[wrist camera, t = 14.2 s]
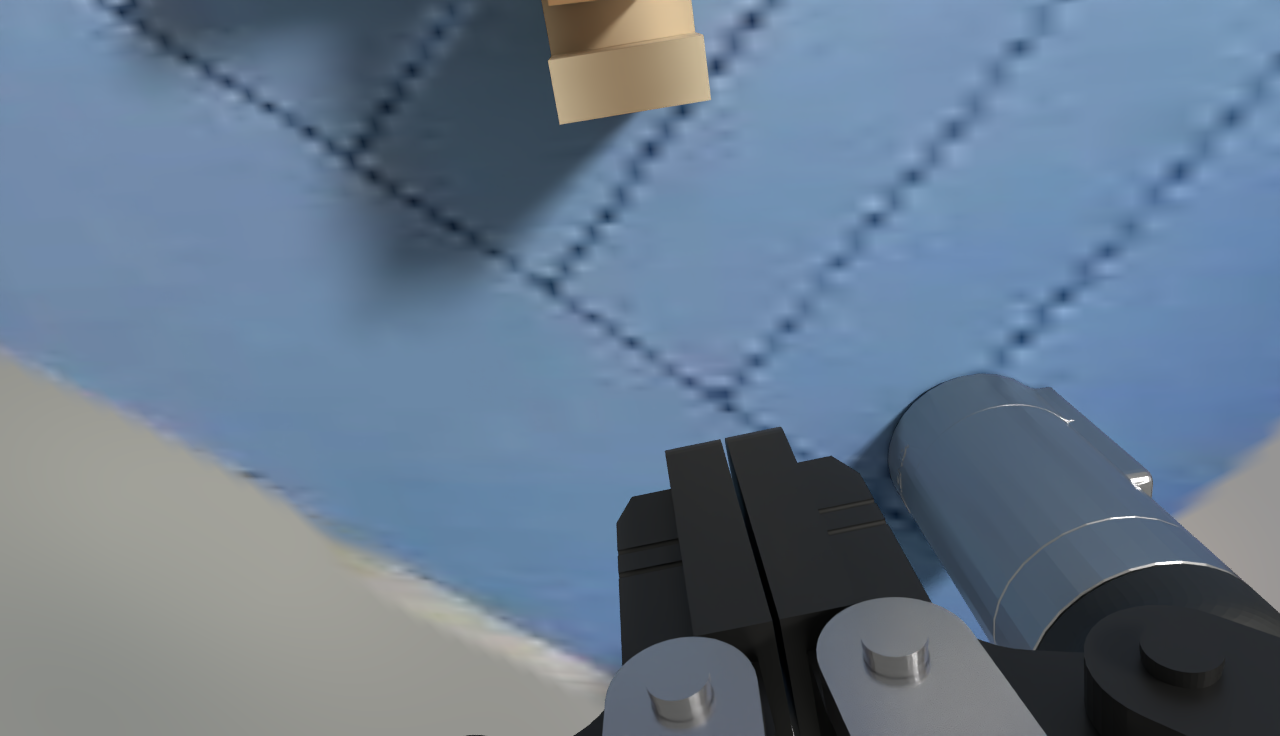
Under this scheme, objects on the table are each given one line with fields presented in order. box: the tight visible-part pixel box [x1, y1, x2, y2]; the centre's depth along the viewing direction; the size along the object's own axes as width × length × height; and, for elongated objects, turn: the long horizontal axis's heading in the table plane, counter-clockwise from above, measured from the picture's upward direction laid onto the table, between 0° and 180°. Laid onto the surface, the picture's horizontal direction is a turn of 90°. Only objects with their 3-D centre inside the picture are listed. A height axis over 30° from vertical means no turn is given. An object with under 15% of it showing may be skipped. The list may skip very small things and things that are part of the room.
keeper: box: [541, 0, 711, 125], centre depth 33 cm, size 5×6×13 cm
